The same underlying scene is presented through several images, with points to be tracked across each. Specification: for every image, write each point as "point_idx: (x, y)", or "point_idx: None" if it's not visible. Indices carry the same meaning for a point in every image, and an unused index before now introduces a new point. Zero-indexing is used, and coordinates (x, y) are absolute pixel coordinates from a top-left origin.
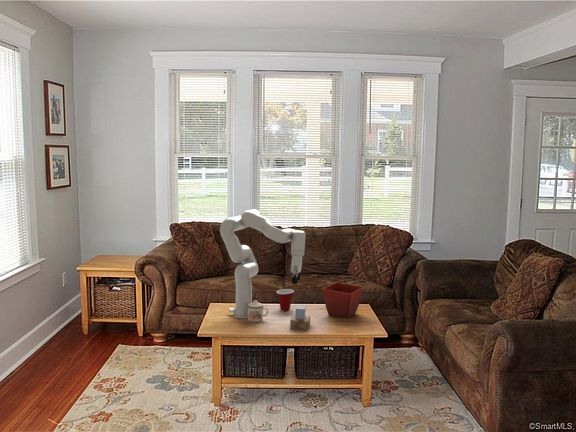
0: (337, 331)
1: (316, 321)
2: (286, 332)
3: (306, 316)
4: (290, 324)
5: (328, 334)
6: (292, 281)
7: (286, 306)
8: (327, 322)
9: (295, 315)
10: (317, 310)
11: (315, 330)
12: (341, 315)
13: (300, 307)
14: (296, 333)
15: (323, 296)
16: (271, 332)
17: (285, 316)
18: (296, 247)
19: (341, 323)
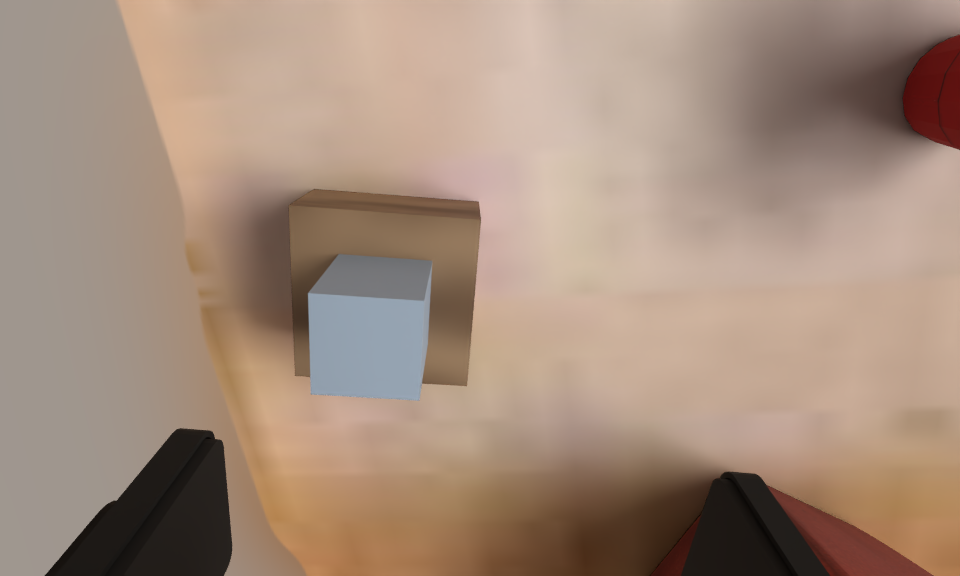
0: (342, 530)
1: (561, 393)
2: (205, 162)
3: (451, 353)
4: (303, 198)
5: (258, 479)
6: (142, 495)
7: (932, 108)
8: (543, 468)
9: (329, 266)
10: (875, 391)
11: None
12: (666, 569)
13: (377, 346)
14: (206, 252)
15: (829, 568)
16: (158, 9)
17: (697, 113)
18: None
19: (530, 553)
